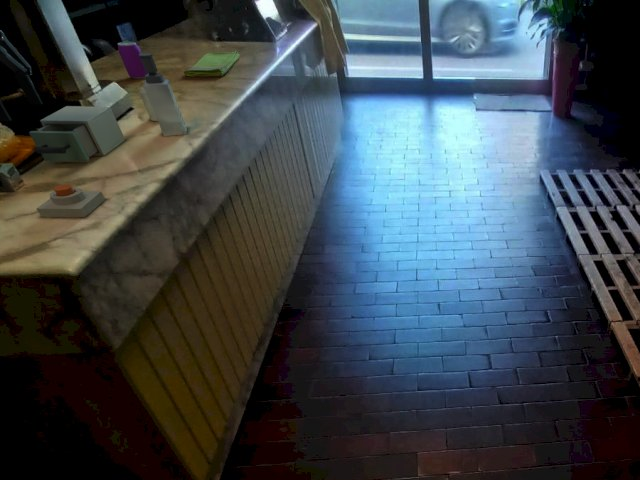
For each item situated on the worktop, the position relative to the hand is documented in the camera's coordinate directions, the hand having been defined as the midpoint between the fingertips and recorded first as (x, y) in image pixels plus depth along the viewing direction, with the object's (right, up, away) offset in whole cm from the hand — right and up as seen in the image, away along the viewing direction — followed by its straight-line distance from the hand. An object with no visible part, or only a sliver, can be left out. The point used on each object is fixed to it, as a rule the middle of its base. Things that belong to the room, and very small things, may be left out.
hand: (21, 112), depth 130 cm
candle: (+2, +23, +48) cm, 53 cm away
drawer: (-3, -3, +19) cm, 20 cm away
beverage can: (-31, +59, +83) cm, 107 cm away
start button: (+15, -23, -4) cm, 28 cm away
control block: (+15, -25, -2) cm, 30 cm away
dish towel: (-9, +73, +100) cm, 124 cm away
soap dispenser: (+13, +15, +40) cm, 45 cm away
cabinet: (-4, +4, +27) cm, 27 cm away
